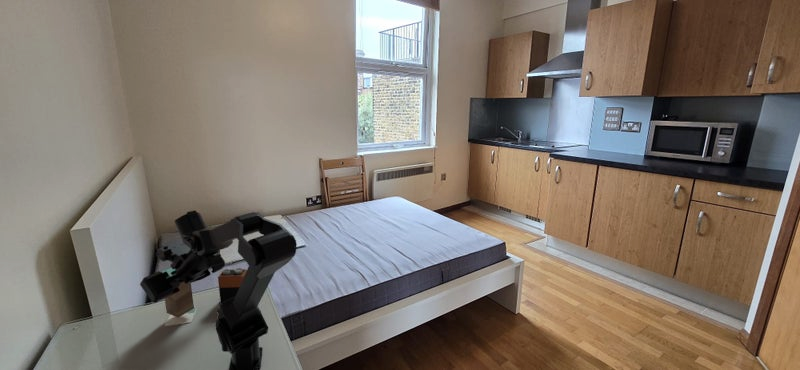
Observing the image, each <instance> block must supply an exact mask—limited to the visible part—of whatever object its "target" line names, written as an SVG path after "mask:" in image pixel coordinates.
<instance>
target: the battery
mask: <svg viewBox="0 0 800 370" xmlns="http://www.w3.org/2000/svg"><path fill="white" fill-rule="evenodd" d="M246 271H247V269H245V268H244V269H243V268H241V267H239V268H235V269H227V268H226V269H222V271H221V272H220V274H219V275H218V276H217V282H218V291H219V301H220V302H219V303H220V304H221V303H222V302H224V301H226V300H228V299H231V298H233V297H235V296H236V294H237V292H238V290H239V288H240V285H241V283H242V281H243V278H244V276H245V274H246Z"/></svg>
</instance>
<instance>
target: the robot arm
mask: <svg viewBox="0 0 800 370" xmlns="http://www.w3.org/2000/svg"><path fill="white" fill-rule="evenodd" d="M174 225H175V228H176V229H177V232H178V234H179V236H180V238H176V239H173V240H170V241H167V242H165V243H164V244H163V245H161V246H160V247H159V248H157V251H156V253H155V255H156V257H157V258H158V260H160V261H161V262H167V261H169V262H170V263H171V264H170V268H172V269H175V271H172V272H171V275H172V276H169V274H168V273H167V271H166V272H163V271H156V272H154V273H152V274H149V275H148V276H144V277H143V278H142V280H141V281H140V284H139V285H140V287H141V288H142V289H143V291H144V293H145V295H147V296H148V298H149V300H150V301H151V302H152V303H159V302H160V301H163V300H165V298H166V297H168V296H170V295H172V294H174V293H176V292H178V291H180V290H179V288H178V287H179V285H180V283H182V282H185V284H187V283H189V282H191V283H195V282H198V281H201V280H203V279H205V278H207V277H209V276H211V273H212V274H215V273H216V272H217V273H218V272H219V271H221V270H223V269H224V267H225V266H226V261H225V259H224V258H223V256H222V254H221V250H224V249H227V248H229V247H230V246H231V245H232V244H233V243H234V240H238V242H237V243H238V244H237V253H238V254H239V255H240V257H242V259H243V260H244V261H245V262H246V263H247V269H246V270H247V271H246V274H245V276H244V278H243V281H242V283H241V285H240V288H239V290H238V292H237V294H236V296H235V297H233V298H231V299H228V300H226V301H224V302H222V303H221V302H220V304H219V305H220V306H219V309H218V310H217V311H216V313H217V317H216V321H215V325H214V326H215V331H216V334H217V337H218V341H219V343H220V345H221V351H222V352H227V353H230V355H231V359H230V364H229V368H228V370H260V369H261V367H262V360H263V351H264V349H263V347H261V346H260V341H259V339H260V337H263V336H264V335H267V334H268V331H269V326H268V325H267V321H266V320H265V318H264V316H263V314H262V311H261V309H260V308H259V304H260V302H261V300H262V299H263V297H264V294H265V293H266V291H267V289H268V286H269V285H270V283H271V281H272V279H273V277H274V274H275V273H276V272H277V271H278V270H280V269H281V268H283V267H284V266H286V265H287V264H288V263H289V262H290V261H291V260H292V259H293V258H294V257H295V256H296V253H297V239H296V238H295V236H294V235H293V234H292V233H291V232H290V231H289V230H288V229H287V228H285V226H283V224H281V223H280V222H276V221H274V220H270V219H267V218H265V217H264V216H263V215H262V214H261V213H259V212H255V211H253V212H248V213H244V214H241V215H237V216H234V217H233V218H231V219H230V220H228V221H227V222H224V223H221V224H216V225H213V226H211V225H210V226H209V227H208V226H207V225H206V223H205V221H204V219H203V216H202V215H201V213H200V212H197V210H190V211H187V212H186V213H185V214H183V215H181V216H180V217H178V218H177V219H174ZM254 233H259V234H261V236H258V237H257V236H256V237H254V238H251V239H249V240H247V239H246V238H245V236H248V235H252V234H254ZM209 269H211V271H210V270H209ZM175 274H176V275H175Z"/></svg>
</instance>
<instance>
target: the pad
mask: <svg viewBox="0 0 800 370" xmlns="http://www.w3.org/2000/svg"><path fill="white" fill-rule="evenodd" d="M197 310H198V309H197V308H195V307H194V309H192V310H190V311H189V312H187V313H185V314H184V315H182V316H180V317H175V316H173V315H170V314H169V316H168V318H167V320H166V321H165V324H164V325H163V326H164V327H170V326H176V325H184V324H191V323H192V321H193V320H194V319H193V318H194V317H195V314H196V312H197Z"/></svg>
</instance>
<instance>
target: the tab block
mask: <svg viewBox="0 0 800 370" xmlns="http://www.w3.org/2000/svg"><path fill="white" fill-rule="evenodd" d="M166 271H167V273H168V274H169V276H172V275H171V272H172V271H175V269H172V268H171V267H170V268H168V269H165V270H163V271H162V272H166ZM175 275H176V274H175ZM178 288H179V290H180V291H178V292H176V293H174V294H172V295H170V296H168V297H166V298H164V302H165V303H164V304H165V309H166V314H167V315H169V316H170V315H173V316H175V317H180V316H182V315H184V314H185V313H187V312H189V311H190V310H192V309H195V307H194V306H195V305H194V297H193V290H192V284H191V282H189V283H187V284H185V282H182V283H180V285H179V287H178Z"/></svg>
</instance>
